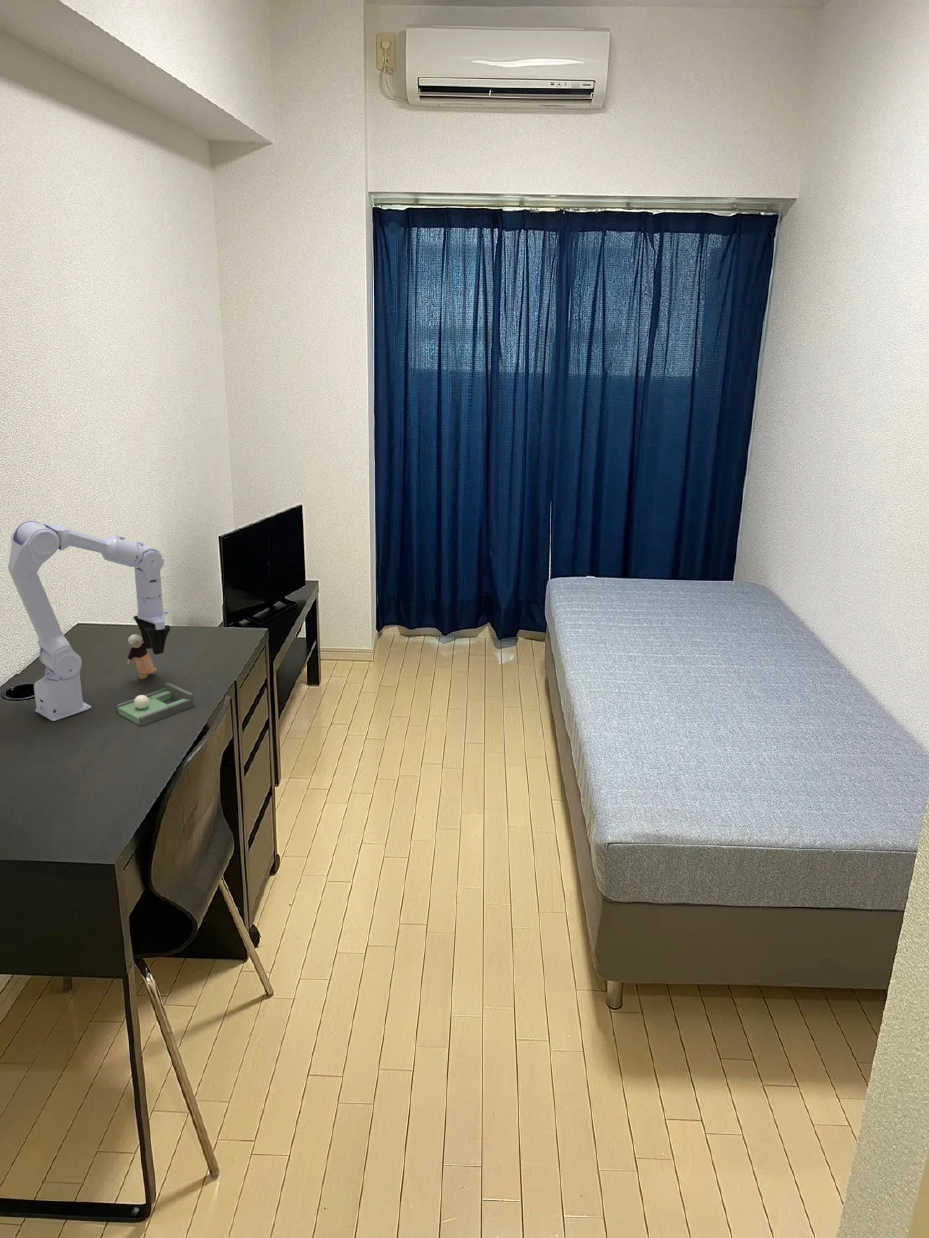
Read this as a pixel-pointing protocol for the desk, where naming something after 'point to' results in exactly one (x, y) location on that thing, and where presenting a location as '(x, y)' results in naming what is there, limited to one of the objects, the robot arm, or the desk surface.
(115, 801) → the desk surface
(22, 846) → the desk surface
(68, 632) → the desk surface
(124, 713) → the green walled tray
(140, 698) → the ball
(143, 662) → the grandmother figurine
